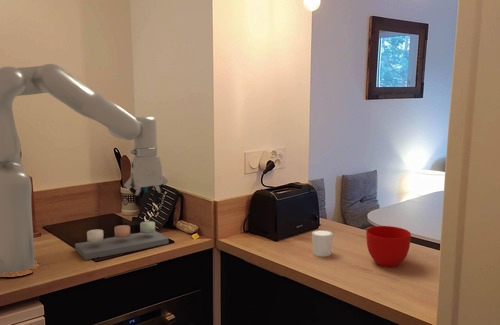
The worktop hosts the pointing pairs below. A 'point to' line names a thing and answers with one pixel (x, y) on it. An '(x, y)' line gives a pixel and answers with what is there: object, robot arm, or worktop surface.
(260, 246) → the worktop surface
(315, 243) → the white tapered tub
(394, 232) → the ceramic cup
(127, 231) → the terracotta button
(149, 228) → the sage button
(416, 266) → the worktop surface
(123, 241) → the button board
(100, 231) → the cream button
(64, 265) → the worktop surface
